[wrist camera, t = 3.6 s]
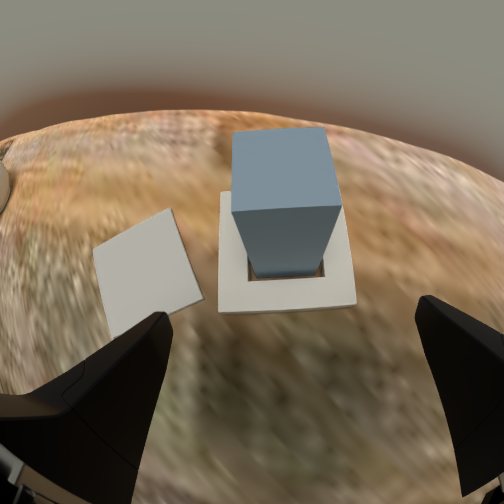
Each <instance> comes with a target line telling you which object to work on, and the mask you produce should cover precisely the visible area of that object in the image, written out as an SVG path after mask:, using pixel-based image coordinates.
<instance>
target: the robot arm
mask: <svg viewBox="0 0 504 504" xmlns="http://www.w3.org/2000/svg"><path fill="white" fill-rule="evenodd" d="M415 322H416V325H417V328H418V332H419V335H420V339H421V342H422V346H423V349H424V353H425V356H426V359H427V361H428V364H429V367H430V369H431V372H432V375H433V378H434V381H435V384H436V387H437V390H438V393H439V396H440V399H441V402H442V405H443V409H444V412H445V416H446V419H447V423H448V427H449V431H450V435H451V439H452V443H453V447H454V449H455V450H454V452H455V457H456V462H457V468H458V473H459V479H460V486H461V493H462V497H465V496H466V495H468V494H470V493H472V492H474V491H475V490H477V489H479V488H480V487H482V486H484V485H485V484H487V483H489V482H490V481H492V480H493V479H495V478H496V477H498V479H499V483H500V485H498V486H497V487H495V488H494V489H492V490H491V491H489V492H488V493H486V495H485V497H484V499H483V501H482V503H481V504H504V335H503V334H502V333H500V332H498V331H496V330H495V329H493V328H491V327H489V326H488V325H486V324H484V323H482V322H480V321H479V320H477V319H475V318H473V317H471V316H470V315H468V314H466V313H464V312H462V311H460V310H458V309H457V308H455V307H453V306H451V305H449V304H447V303H445V302H443V301H442V300H440V299H438V298H436V297H434V296H432V295H425V296H421V297H420V299H419V302H418V305H417V309H416V313H415ZM172 338H173V329H172V326H171V323H170V320H169V317H168V314H167V313H166V312H165V311H155V312H154V313H152V314H151V315H149V316H148V317H146V318H145V319H143V320H142V321H140V322H139V323H137V324H136V325H134V326H133V327H131V328H130V329H129V330H127V331H126V332H124V333H123V334H121V335H120V336H118V337H117V338H115V339H114V340H112V341H111V342H110V343H108V344H107V345H105V346H104V347H102V348H101V349H99V350H98V351H96V352H95V353H93V354H92V355H90V356H89V357H88V358H86V359H85V360H83V361H82V362H80V363H79V364H77V365H76V366H74V367H73V368H71V369H70V370H68V371H67V372H65V373H63V374H62V375H60V376H58V377H57V378H55V379H53V380H51V381H50V382H48V383H46V384H44V385H43V386H41V387H39V388H37V389H36V390H34V391H32V392H30V393H27V394H24V395H10V394H1V393H0V504H131V501H132V496H133V492H134V487H135V483H136V479H137V475H138V470H139V466H140V462H141V458H142V454H143V450H144V446H145V443H146V439H147V435H148V431H149V428H150V424H151V421H152V417H153V414H154V410H155V407H156V403H157V400H158V396H159V393H160V390H161V386H162V383H163V380H164V377H165V373H166V369H167V364H168V359H169V354H170V348H171V343H172Z"/></svg>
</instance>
